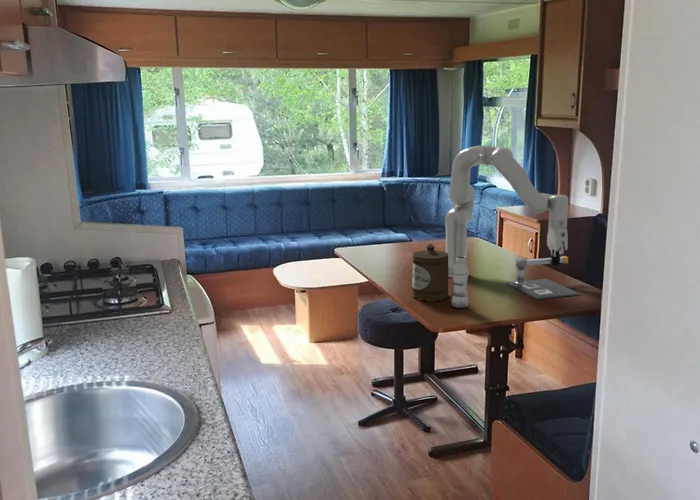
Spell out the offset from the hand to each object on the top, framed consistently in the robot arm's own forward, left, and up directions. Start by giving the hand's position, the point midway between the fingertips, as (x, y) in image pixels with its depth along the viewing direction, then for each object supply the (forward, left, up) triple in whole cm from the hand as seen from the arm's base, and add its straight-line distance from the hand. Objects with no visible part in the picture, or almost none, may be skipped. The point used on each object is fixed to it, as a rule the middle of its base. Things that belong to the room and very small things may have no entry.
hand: (555, 265), depth 279 cm
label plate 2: (-14, -12, -9) cm, 20 cm away
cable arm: (-5, +3, 0) cm, 6 cm away
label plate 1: (-14, -3, -9) cm, 16 cm away
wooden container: (-59, +1, -9) cm, 59 cm away
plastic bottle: (-54, -16, -9) cm, 57 cm away
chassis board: (-10, -5, -9) cm, 14 cm away
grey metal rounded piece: (-15, +4, -9) cm, 17 cm away
